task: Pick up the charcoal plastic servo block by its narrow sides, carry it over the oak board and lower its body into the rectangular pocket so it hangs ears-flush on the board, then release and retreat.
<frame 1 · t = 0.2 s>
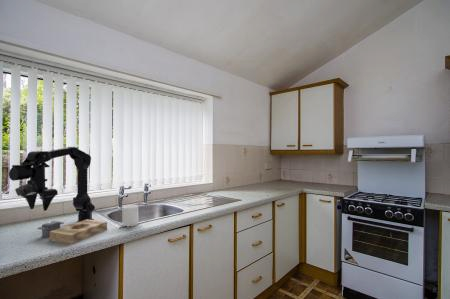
hand: (38, 209, 114), 13 cm above the countertop, fingers open, 9 cm apart
mug: (129, 224, 134), on the countertop
servo: (51, 235, 117), on the countertop
chassis board: (80, 234, 118), on the countertop
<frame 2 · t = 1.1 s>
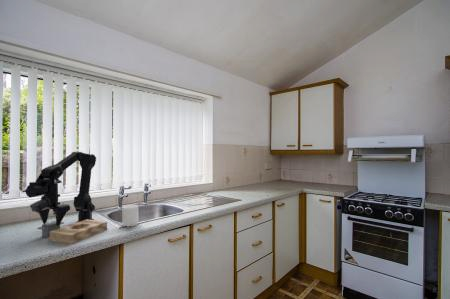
hand: (51, 224, 117), 5 cm above the countertop, fingers open, 9 cm apart
nothing on the countertop moved.
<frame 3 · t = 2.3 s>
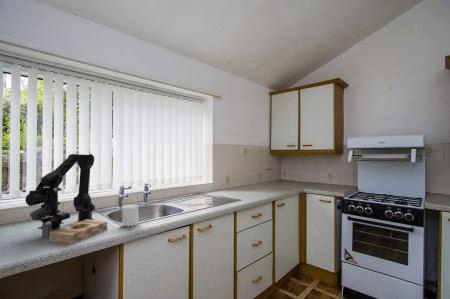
hand: (51, 232, 117), 1 cm above the countertop, fingers closed on servo, 4 cm apart
servo: (51, 235, 117), on the countertop, touching gripper
everything else where it was.
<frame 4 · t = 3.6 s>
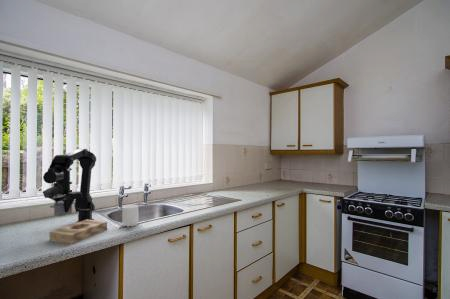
hand: (63, 211, 117), 11 cm above the countertop, fingers closed on servo, 4 cm apart
servo: (63, 214, 117), point 10 cm above the countertop, touching gripper
everything else where it was.
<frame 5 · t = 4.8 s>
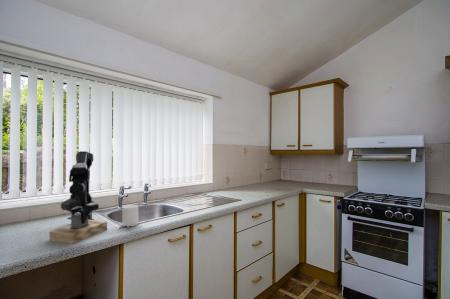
hand: (80, 223, 118), 6 cm above the countertop, fingers closed on servo, 4 cm apart
servo: (79, 225, 118), point 4 cm above the countertop, touching gripper
everything else where it was.
when the fingers open (4 cm above the countertop, at t = 5.3 s): servo drops 3 cm, resting in chassis board.
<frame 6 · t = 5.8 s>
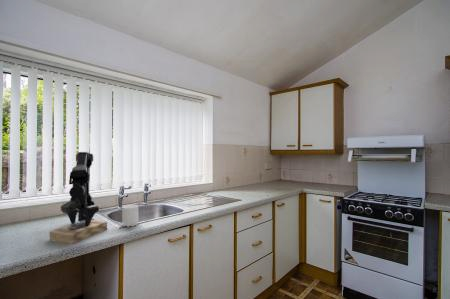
hand: (80, 225, 118), 4 cm above the countertop, fingers open, 9 cm apart
servo: (80, 234, 118), resting in chassis board
everything else where it was.
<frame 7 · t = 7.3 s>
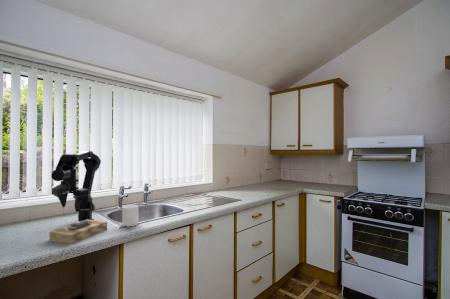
hand: (70, 207, 124), 12 cm above the countertop, fingers open, 9 cm apart
nothing on the countertop moved.
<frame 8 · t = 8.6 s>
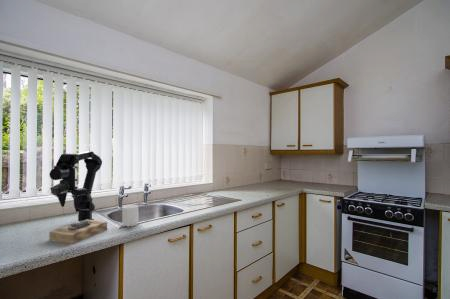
hand: (69, 207, 124), 12 cm above the countertop, fingers open, 9 cm apart
nothing on the countertop moved.
at the end: servo 0.1 cm off-centre on the chassis board, point 0.0 cm above the chassis board's base; servo tilted 0°; the gripper is holding nothing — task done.
